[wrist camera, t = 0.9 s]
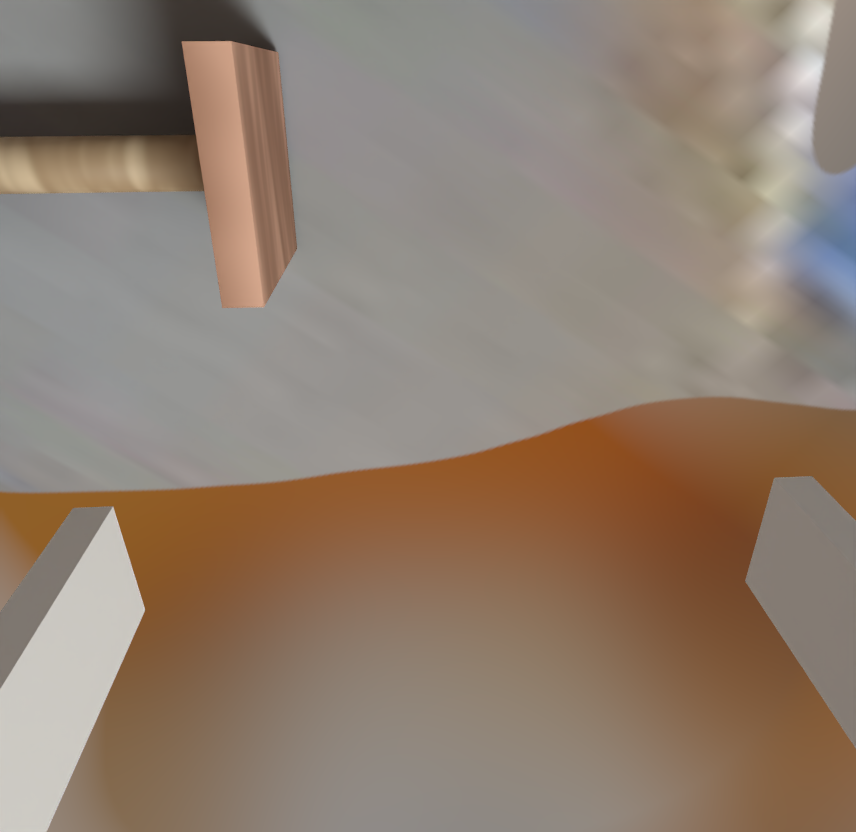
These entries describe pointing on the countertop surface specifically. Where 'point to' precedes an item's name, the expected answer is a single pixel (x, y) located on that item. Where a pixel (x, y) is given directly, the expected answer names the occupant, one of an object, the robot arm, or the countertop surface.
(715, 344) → the countertop surface
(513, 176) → the countertop surface
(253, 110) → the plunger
